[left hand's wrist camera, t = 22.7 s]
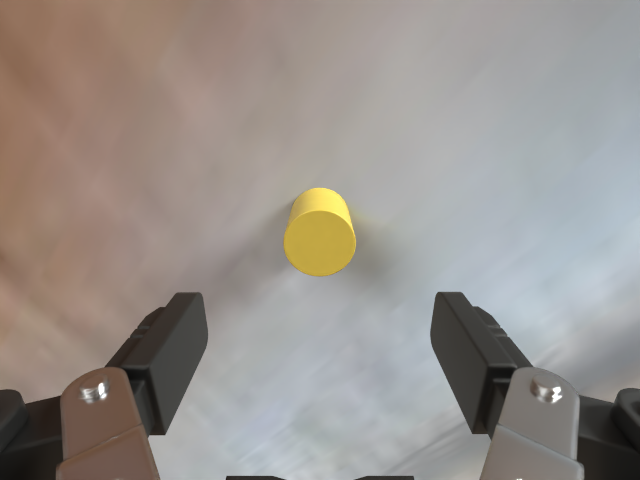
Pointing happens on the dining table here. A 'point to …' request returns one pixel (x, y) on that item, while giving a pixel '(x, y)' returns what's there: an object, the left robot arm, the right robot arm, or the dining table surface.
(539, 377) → the left robot arm
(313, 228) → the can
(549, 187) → the dining table surface
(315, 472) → the dining table surface
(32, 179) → the dining table surface
